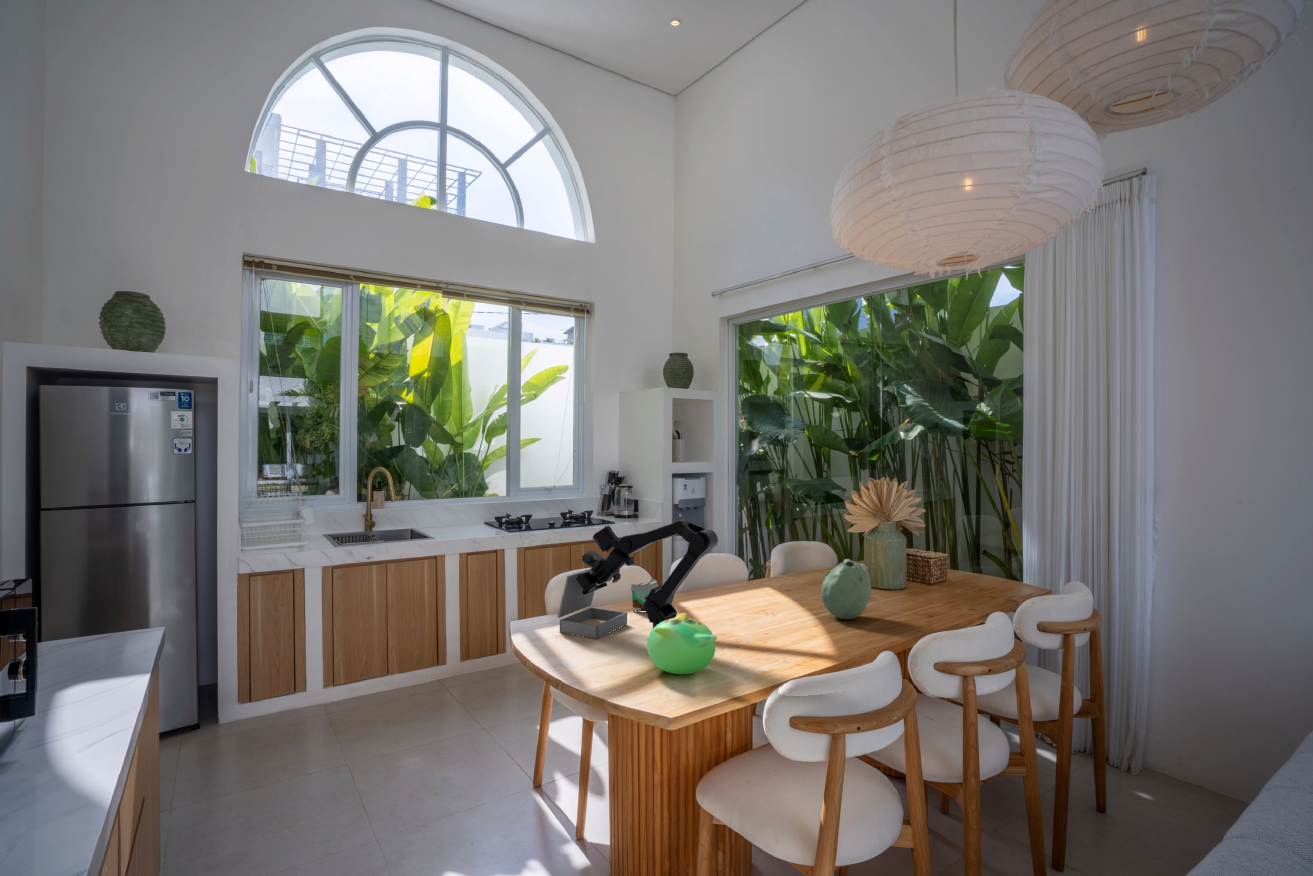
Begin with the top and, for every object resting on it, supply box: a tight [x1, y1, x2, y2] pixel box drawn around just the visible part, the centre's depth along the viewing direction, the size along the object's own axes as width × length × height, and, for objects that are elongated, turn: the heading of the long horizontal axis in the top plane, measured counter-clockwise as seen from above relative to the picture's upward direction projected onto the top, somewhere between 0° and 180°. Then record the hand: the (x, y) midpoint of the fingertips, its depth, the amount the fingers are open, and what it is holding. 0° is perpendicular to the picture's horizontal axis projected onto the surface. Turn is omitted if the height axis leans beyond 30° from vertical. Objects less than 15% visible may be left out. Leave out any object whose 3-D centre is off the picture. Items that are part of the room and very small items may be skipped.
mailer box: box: [559, 606, 628, 640], centre depth 205 cm, size 14×18×4 cm
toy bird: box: [646, 612, 717, 675], centre depth 167 cm, size 18×17×15 cm
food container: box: [630, 578, 659, 611], centre depth 228 cm, size 12×6×10 cm, turn 143°
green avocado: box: [820, 558, 872, 620], centre depth 220 cm, size 16×19×20 cm
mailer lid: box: [557, 568, 595, 618], centre depth 208 cm, size 14×18×1 cm
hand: (583, 593), depth 207 cm, fingers closed
